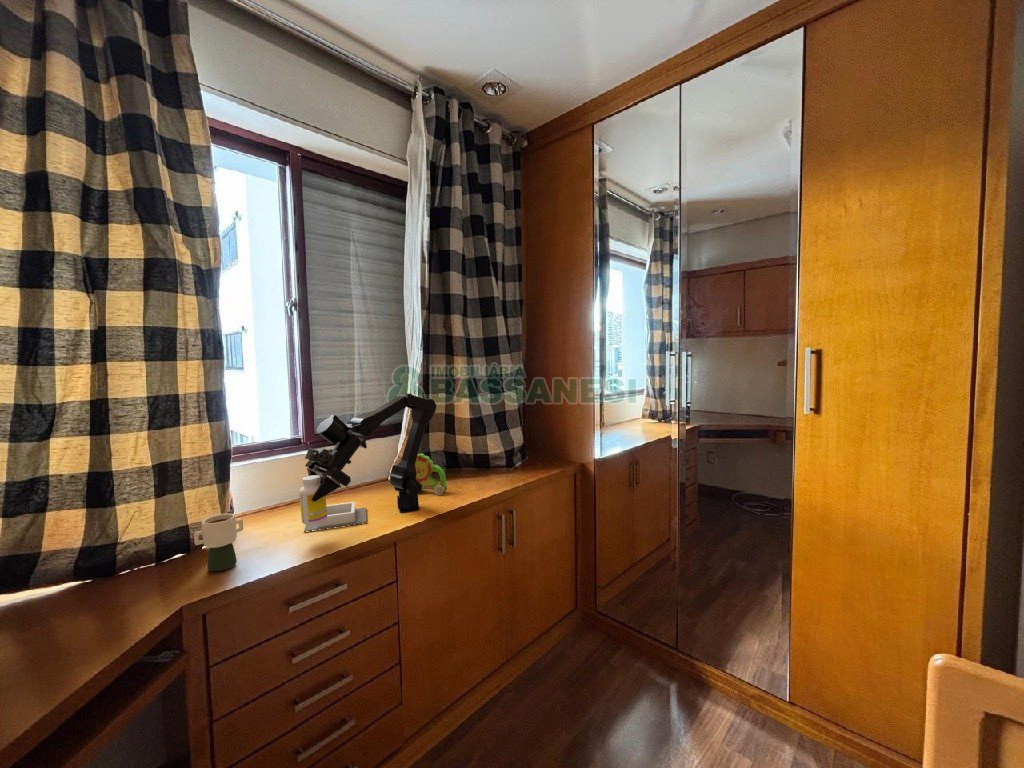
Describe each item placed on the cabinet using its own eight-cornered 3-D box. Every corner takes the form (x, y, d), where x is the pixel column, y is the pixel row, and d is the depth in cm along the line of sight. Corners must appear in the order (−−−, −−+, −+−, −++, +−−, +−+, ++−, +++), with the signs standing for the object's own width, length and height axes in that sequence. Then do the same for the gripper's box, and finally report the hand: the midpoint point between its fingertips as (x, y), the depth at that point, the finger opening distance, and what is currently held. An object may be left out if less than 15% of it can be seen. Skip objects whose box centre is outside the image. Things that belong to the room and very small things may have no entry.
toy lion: (448, 491, 165) (446, 453, 164) (442, 496, 160) (441, 456, 159) (410, 489, 169) (409, 452, 168) (404, 494, 163) (402, 455, 162)
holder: (366, 508, 149) (365, 498, 148) (366, 523, 135) (365, 512, 135) (309, 516, 143) (309, 506, 143) (304, 532, 130) (303, 521, 129)
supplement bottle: (332, 517, 124) (329, 474, 123) (315, 527, 118) (311, 481, 117) (314, 515, 127) (311, 473, 126) (296, 524, 120) (292, 480, 119)
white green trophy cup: (239, 555, 115) (236, 509, 115) (251, 562, 111) (248, 514, 110) (191, 573, 107) (187, 522, 106) (203, 581, 102) (198, 528, 102)
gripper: (309, 433, 130) (273, 477, 123) (336, 440, 117) (297, 490, 110) (336, 453, 136) (303, 496, 129) (365, 462, 123) (330, 511, 116)
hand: (307, 498), depth 121 cm, fingers closed on supplement bottle, 7 cm apart
